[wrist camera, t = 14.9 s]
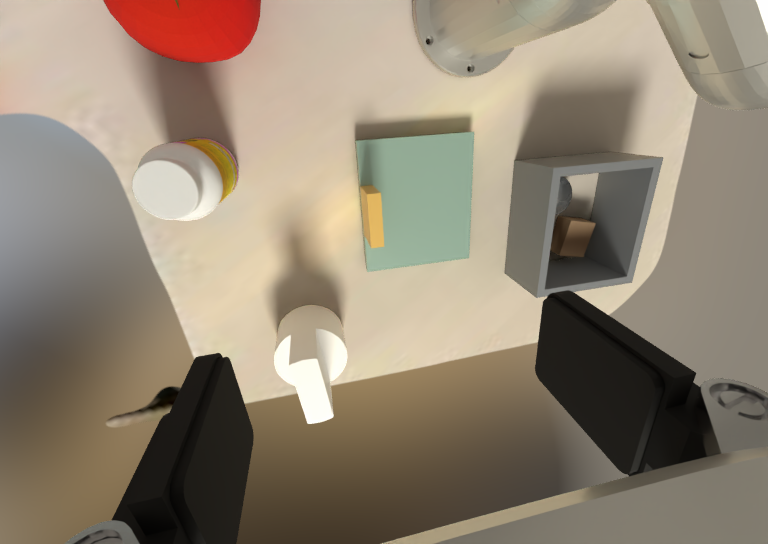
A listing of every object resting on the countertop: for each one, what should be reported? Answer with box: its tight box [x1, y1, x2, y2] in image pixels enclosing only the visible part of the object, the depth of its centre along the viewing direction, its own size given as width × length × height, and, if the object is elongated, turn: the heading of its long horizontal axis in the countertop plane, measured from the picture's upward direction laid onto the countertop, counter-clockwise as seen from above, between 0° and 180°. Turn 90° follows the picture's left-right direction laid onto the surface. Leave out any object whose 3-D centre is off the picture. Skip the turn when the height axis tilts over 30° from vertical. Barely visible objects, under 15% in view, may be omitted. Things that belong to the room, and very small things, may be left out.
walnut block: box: [550, 216, 596, 257], centre depth 50 cm, size 5×4×3 cm
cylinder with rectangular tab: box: [274, 305, 347, 424], centre depth 44 cm, size 9×9×12 cm
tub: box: [505, 152, 663, 298], centre depth 46 cm, size 16×14×8 cm
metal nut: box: [555, 177, 572, 215], centre depth 47 cm, size 5×5×2 cm
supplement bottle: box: [132, 138, 239, 221], centre depth 33 cm, size 7×7×13 cm
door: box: [355, 132, 474, 272], centre depth 42 cm, size 16×14×7 cm
